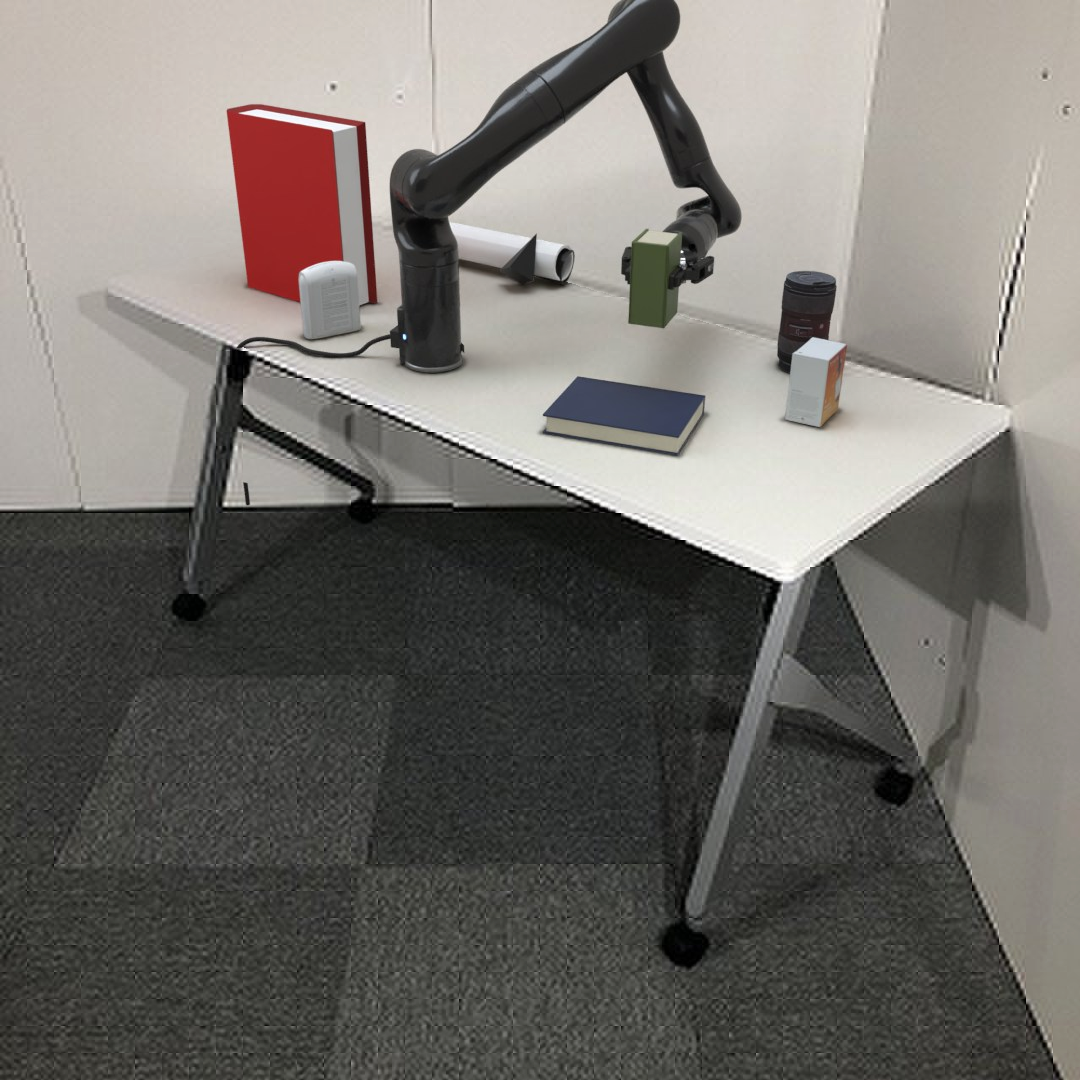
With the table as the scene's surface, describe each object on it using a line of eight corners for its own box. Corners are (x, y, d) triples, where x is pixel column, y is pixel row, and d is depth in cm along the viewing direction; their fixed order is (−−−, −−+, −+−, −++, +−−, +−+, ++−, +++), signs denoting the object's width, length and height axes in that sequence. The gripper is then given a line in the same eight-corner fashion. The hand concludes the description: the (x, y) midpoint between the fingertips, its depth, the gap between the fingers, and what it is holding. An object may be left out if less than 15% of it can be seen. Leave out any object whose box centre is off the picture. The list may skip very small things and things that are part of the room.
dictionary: (628, 323, 173) (631, 242, 167) (642, 308, 179) (646, 228, 173) (664, 328, 172) (668, 246, 165) (677, 312, 177) (682, 232, 171)
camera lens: (835, 371, 192) (848, 280, 185) (794, 380, 189) (806, 288, 182) (804, 354, 199) (816, 266, 191) (764, 362, 196) (774, 273, 188)
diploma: (425, 270, 247) (389, 243, 235) (441, 228, 247) (406, 199, 235) (568, 303, 230) (536, 275, 218) (584, 257, 230) (554, 227, 218)
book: (377, 303, 219) (365, 122, 203) (346, 315, 214) (331, 129, 198) (274, 275, 233) (255, 103, 217) (243, 285, 228) (221, 110, 212)
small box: (820, 428, 174) (829, 360, 168) (783, 420, 176) (791, 352, 171) (839, 409, 180) (848, 343, 174) (803, 401, 182) (812, 335, 177)
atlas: (542, 433, 172) (542, 414, 171) (577, 394, 184) (577, 376, 183) (677, 455, 166) (678, 436, 164) (704, 414, 178) (705, 395, 177)
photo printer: (354, 323, 210) (348, 254, 204) (365, 330, 207) (359, 260, 201) (299, 334, 206) (292, 264, 199) (310, 342, 203) (303, 271, 196)
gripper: (637, 217, 184) (602, 248, 170) (729, 227, 179) (701, 260, 166) (635, 265, 187) (601, 299, 174) (725, 276, 183) (697, 312, 170)
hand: (650, 280), depth 170 cm, fingers closed on dictionary, 5 cm apart
